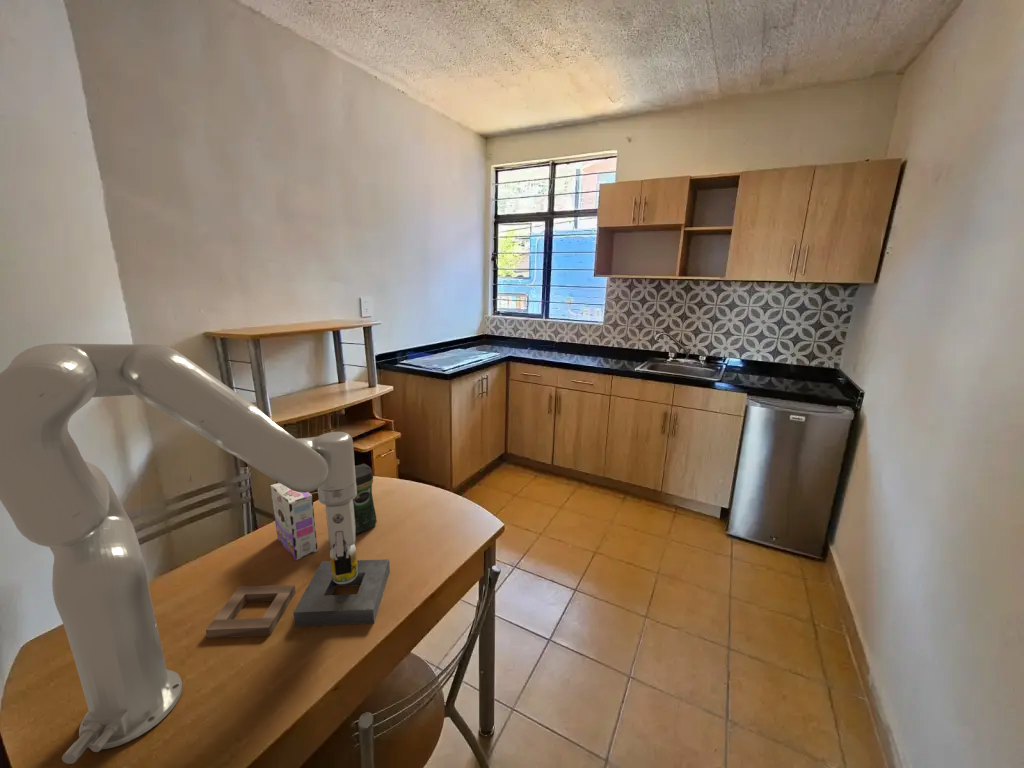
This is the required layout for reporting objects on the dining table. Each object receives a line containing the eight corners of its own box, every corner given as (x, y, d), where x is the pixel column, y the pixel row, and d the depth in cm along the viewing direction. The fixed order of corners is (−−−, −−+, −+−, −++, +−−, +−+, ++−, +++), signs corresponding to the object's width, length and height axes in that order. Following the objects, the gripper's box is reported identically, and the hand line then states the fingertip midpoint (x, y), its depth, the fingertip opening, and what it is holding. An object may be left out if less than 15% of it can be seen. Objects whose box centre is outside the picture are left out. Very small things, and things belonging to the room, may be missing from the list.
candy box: (319, 551, 109) (313, 495, 106) (295, 561, 105) (288, 503, 101) (298, 530, 119) (292, 477, 115) (276, 538, 114) (269, 484, 110)
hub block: (374, 623, 87) (373, 609, 86) (295, 626, 86) (293, 612, 85) (389, 571, 102) (389, 559, 102) (323, 573, 101) (321, 561, 100)
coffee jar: (367, 515, 127) (363, 458, 122) (380, 525, 122) (377, 467, 117) (336, 528, 120) (330, 468, 115) (349, 539, 115) (344, 478, 110)
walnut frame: (270, 635, 83) (268, 627, 83) (207, 638, 82) (205, 629, 82) (295, 592, 95) (294, 584, 95) (240, 594, 94) (239, 586, 94)
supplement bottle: (350, 565, 97) (347, 529, 94) (362, 576, 93) (359, 538, 91) (328, 577, 93) (324, 539, 90) (339, 589, 89) (335, 550, 87)
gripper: (356, 507, 81) (362, 586, 86) (356, 470, 97) (362, 538, 101) (314, 514, 79) (322, 594, 83) (321, 475, 94) (328, 544, 99)
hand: (344, 563), depth 92 cm, fingers closed on supplement bottle, 5 cm apart
